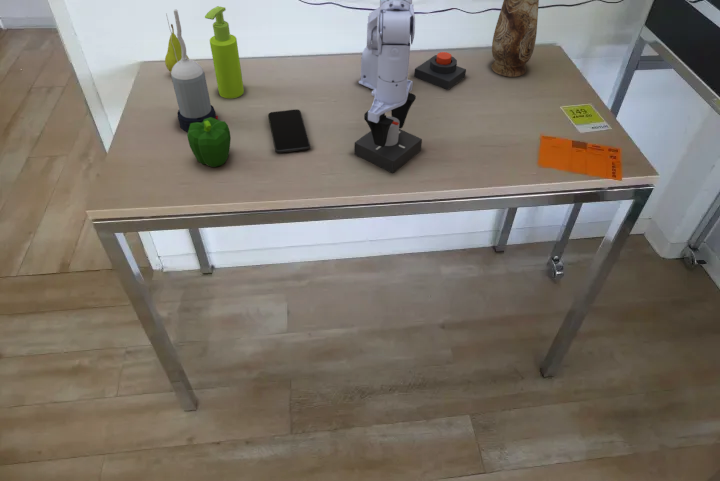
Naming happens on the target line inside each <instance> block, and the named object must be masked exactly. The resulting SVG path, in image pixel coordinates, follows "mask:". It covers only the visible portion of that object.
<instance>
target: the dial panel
mask: <svg viewBox="0 0 720 481" xmlns="http://www.w3.org/2000/svg"><path fill="white" fill-rule="evenodd" d="M422 144H423V139H422V138H421V137H419V136H417V135H415V134H413V133H409V132H407V131H405V130H403V129H402V128H401V129H400V128H399V136H398V143H397V144H395V145H393V146H384V147H381V146H378V145H375V143H374V140H373V136H372V132H371V130H370V131H368V132H367V133H366V134H364V135H363V136H362V137H361V138H359V139H357V140H356V141H354V148H353V149H354V155H355V156H357V157H359V158H361V159H363V160H365V161H367V162H369V163H370V164H373V165H375V166H377V167H379V168H381V169H382V170H385V171H387V172H389V173H392V174H394V173H395V172H397V171H398V170H399V169H400V168H402V167H403V166H404V165H405V164H407V163H408V162H409V161H410V160H411V159H413V158H414V157H415V156H416V155H417V154H418V153H420V152H421V151H422Z"/></svg>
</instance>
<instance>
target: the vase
mask: <svg viewBox="0 0 720 481" xmlns="http://www.w3.org/2000/svg"><path fill="white" fill-rule="evenodd" d="M539 1H540V0H503V2H502V5H501V8H500V12H499V15H498V18H497V22H496V24H495V28H494V31H493V37H492V42H491V44H492V45H491V56H492V58H493V60H494V61H493V62H492V64H491V70H492V71H493V72H494V73H496V74H497V75H500V76H504V77H512V78H515V77H520V76H522V75H525V74H526V73H527V66H526V64H527V63H528V62H529V61H530V60H531V58H532V56H533V53H534V50H535V46H536V41H537V34H538V17H539V5H540V4H539V3H540V2H539Z"/></svg>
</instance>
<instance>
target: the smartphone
mask: <svg viewBox="0 0 720 481" xmlns="http://www.w3.org/2000/svg"><path fill="white" fill-rule="evenodd" d="M267 116H268V122H269V127H270V132H271V136H272V141H273V146H274V151H275V152H276V153H278V154H282V153H291V152H298V151H306V150H309V149H310V148H311V144H310V140H309V137H308V132H307V130H306V126H305V122H304V118H303V115H302V112H301V110H300V109H288V110H278V111H271V112H269V113H268V114H267Z"/></svg>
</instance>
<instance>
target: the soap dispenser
mask: <svg viewBox="0 0 720 481" xmlns="http://www.w3.org/2000/svg"><path fill="white" fill-rule="evenodd" d="M226 10H227V9H226V7H223V6H219V5H218V6H215V7H214V8H211V9H210V10H209V11H208V12H207V13H206V14H205V16H204V19H208V20H212V21H213V20H215V22H213V24H212V28H213V34H214V35H213V36H211V37H210V38H209V45H210V51H211V56H212V63H213V68H214V74H215V79H216V84H217V85H216V86H217V89H218V94H219V96H220V97H221V98H224V99H236V98H239V97H241V96H243V94H244V93H245V88H244V82H243V74H242V68H241V61H240V54H239V47H238V41H237V40H238V39H237V37H236V35H234V34H231V30H230V25H229V22H228V21H226V20H225V18H224V12H226Z"/></svg>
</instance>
